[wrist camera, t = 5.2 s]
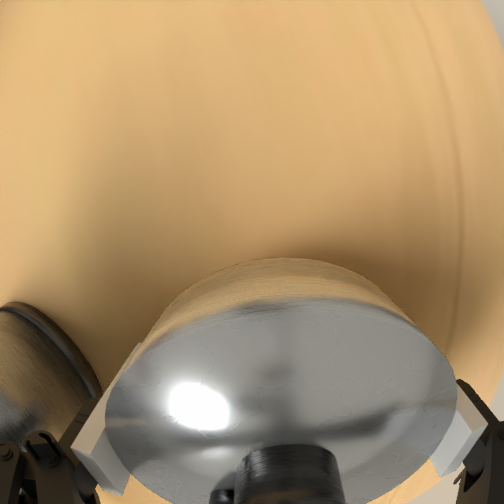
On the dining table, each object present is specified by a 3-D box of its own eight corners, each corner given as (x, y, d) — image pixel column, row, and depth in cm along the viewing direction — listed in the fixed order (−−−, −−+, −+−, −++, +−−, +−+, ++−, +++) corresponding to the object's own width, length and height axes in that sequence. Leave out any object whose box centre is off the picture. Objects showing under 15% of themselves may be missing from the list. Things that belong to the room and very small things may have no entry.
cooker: (-32, 242, 12) (-137, 287, 2) (58, 230, 11) (-121, 308, 1) (46, 438, 16) (0, 510, 6) (140, 467, 15) (105, 569, 6)
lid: (278, 184, 9) (347, 202, 2) (445, 365, 10) (522, 466, 3) (104, 380, 11) (31, 494, 4) (277, 480, 12) (280, 580, 6)
